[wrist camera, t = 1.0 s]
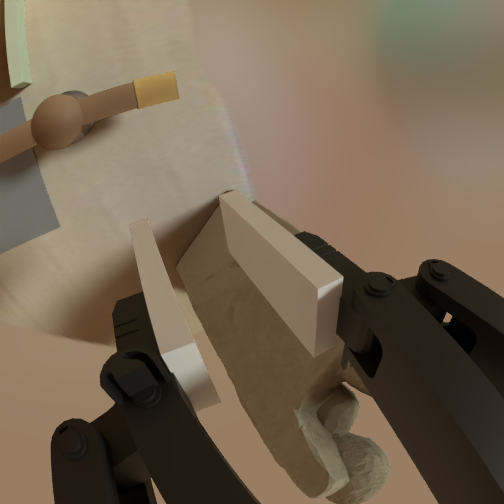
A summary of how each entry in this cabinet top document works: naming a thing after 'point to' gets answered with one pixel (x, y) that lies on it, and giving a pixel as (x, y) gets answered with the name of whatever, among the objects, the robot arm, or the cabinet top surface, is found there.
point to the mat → (21, 190)
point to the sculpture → (282, 376)
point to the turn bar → (84, 113)
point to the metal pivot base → (86, 127)
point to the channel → (16, 44)
